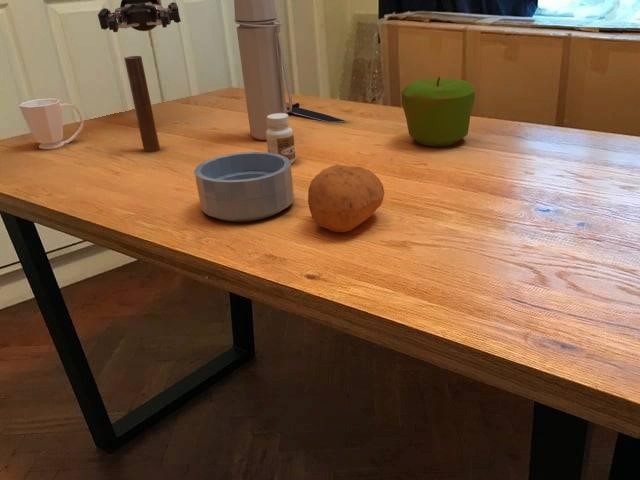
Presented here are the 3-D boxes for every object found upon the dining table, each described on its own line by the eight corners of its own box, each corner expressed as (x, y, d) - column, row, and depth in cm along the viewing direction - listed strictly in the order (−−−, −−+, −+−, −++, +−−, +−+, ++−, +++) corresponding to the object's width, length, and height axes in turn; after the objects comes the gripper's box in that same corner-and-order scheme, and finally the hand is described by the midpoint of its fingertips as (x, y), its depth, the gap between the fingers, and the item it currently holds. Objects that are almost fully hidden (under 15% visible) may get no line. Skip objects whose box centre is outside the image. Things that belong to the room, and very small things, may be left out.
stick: (144, 152, 118) (124, 59, 110) (143, 148, 120) (123, 56, 112) (160, 150, 118) (141, 57, 111) (159, 146, 121) (141, 55, 113)
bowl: (208, 231, 85) (200, 187, 83) (197, 199, 96) (189, 159, 93) (304, 215, 89) (300, 172, 86) (283, 186, 100) (278, 147, 97)
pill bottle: (285, 167, 108) (280, 120, 104) (264, 164, 109) (258, 117, 106) (301, 159, 111) (296, 113, 107) (280, 156, 113) (275, 111, 109)
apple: (475, 132, 122) (477, 69, 116) (471, 152, 111) (473, 83, 106) (408, 131, 124) (407, 69, 118) (398, 150, 113) (396, 83, 108)
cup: (27, 145, 124) (14, 102, 121) (82, 135, 130) (72, 93, 126) (35, 153, 119) (22, 109, 116) (92, 143, 124) (81, 99, 121)
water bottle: (241, 140, 123) (221, -7, 111) (265, 129, 129) (248, -11, 117) (283, 144, 119) (266, -7, 107) (306, 133, 125) (292, -11, 113)
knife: (337, 133, 130) (353, 124, 133) (335, 121, 129) (351, 111, 132) (249, 110, 144) (265, 101, 147) (246, 98, 142) (263, 90, 145)
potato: (291, 228, 86) (285, 173, 82) (348, 201, 93) (344, 150, 90) (345, 245, 80) (341, 186, 77) (400, 215, 88) (399, 161, 84)
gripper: (98, -11, 127) (91, 5, 114) (174, -17, 130) (175, -3, 117) (109, 30, 131) (102, 49, 118) (182, 23, 134) (184, 41, 121)
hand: (138, 23), depth 118 cm, fingers open, 8 cm apart
